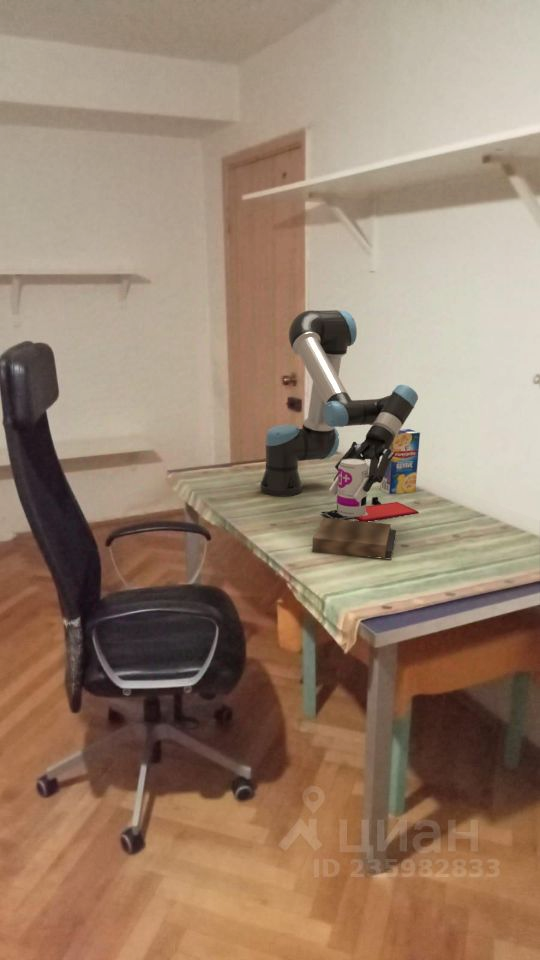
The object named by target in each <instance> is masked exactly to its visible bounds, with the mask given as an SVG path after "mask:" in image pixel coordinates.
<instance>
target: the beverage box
mask: <svg viewBox="0 0 540 960" xmlns="http://www.w3.org/2000/svg"><path fill="white" fill-rule="evenodd" d="M420 439H421V432H420V431H417V430H413V429H410V428H407V429H400V431H399V432H398V434H397V436H396V437H395V438H394V441H393V442H392V444H391V446H390V447H389V449H391V451H392V452H393V454H394V456H393V458H392V459H391V460H390V462H389V465H388V467H387V470H386V472H385V475H384V477H383V480H382V482H381V483H379V485H380V488H379V490H380V491H383V492H385V493H386V494H389V495H396V493H397V494H404V492H407V493H413V492H414V491H415V492H416V491H417V490H416V489H417V487H416V486H417V475H418V465H419V464H418V463H419V452H420V451H419V450H420ZM387 450H388V449H387ZM382 456H383V455H382ZM382 456H381V457H382Z"/></svg>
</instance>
